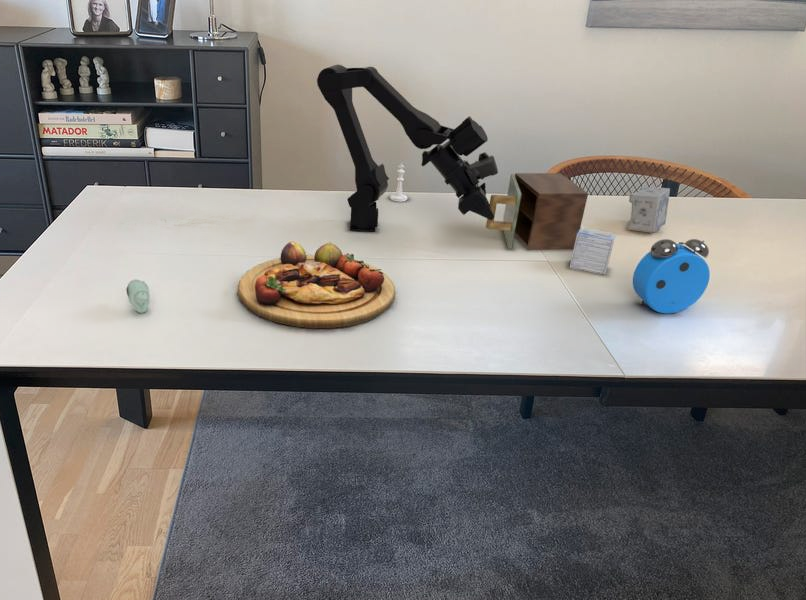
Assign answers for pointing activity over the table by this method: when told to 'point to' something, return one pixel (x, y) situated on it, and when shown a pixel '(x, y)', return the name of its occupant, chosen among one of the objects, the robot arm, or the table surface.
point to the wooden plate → (316, 288)
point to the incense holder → (648, 209)
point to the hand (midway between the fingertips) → (492, 217)
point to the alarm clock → (672, 275)
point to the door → (506, 211)
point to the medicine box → (592, 250)
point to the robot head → (138, 295)
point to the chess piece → (399, 187)
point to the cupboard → (549, 211)
